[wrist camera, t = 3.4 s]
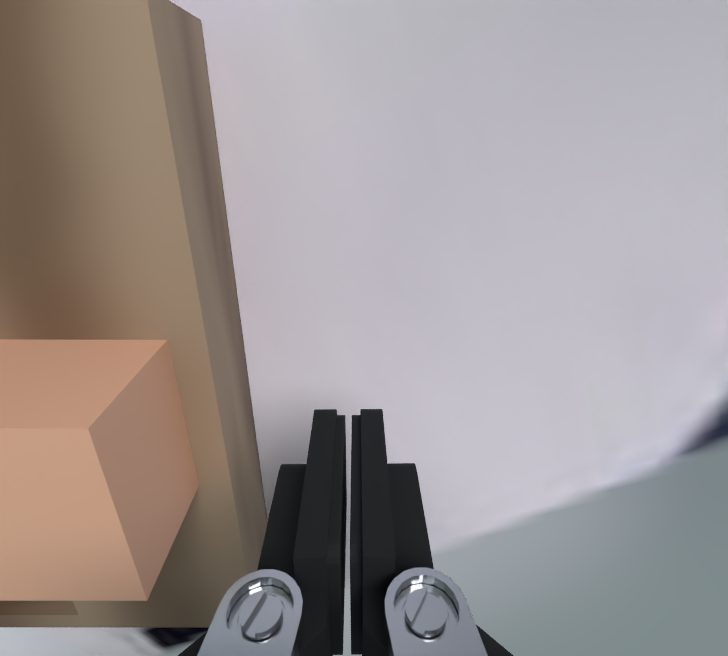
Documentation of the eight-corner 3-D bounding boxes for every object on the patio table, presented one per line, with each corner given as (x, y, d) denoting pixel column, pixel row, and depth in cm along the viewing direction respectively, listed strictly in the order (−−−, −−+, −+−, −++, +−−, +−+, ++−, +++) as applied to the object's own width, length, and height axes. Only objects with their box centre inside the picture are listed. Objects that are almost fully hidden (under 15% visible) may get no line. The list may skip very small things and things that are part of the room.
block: (167, 340, 11) (88, 428, 8) (199, 485, 13) (147, 600, 10) (-30, 339, 11) (-190, 427, 8) (34, 485, 13) (-69, 600, 10)
